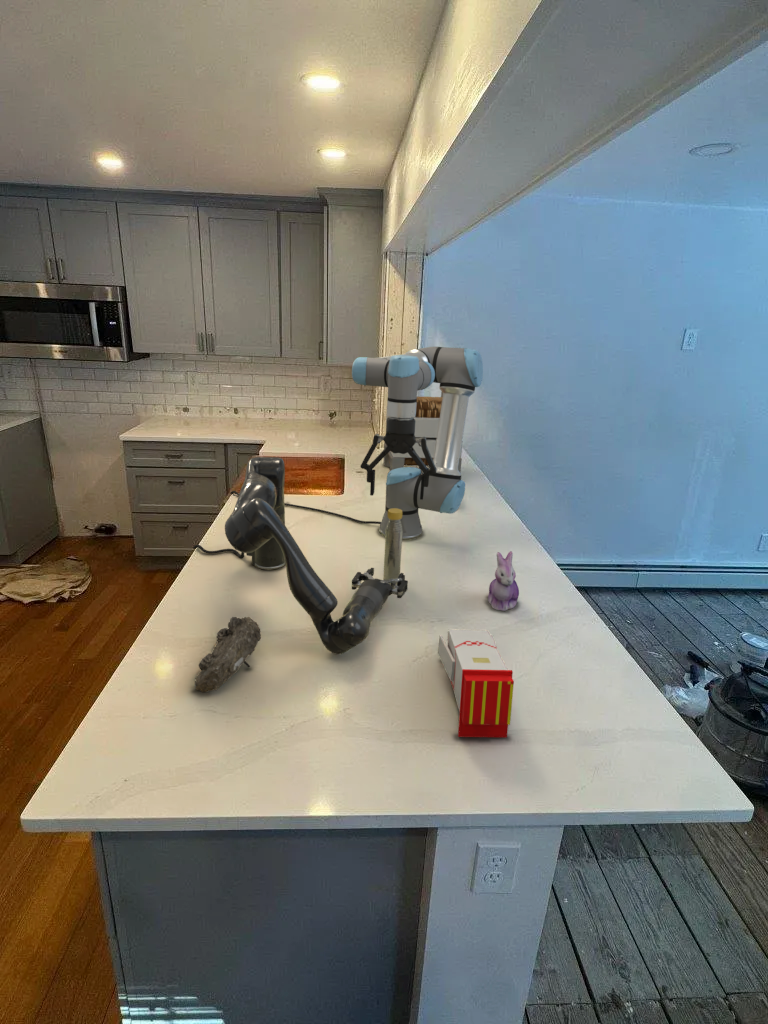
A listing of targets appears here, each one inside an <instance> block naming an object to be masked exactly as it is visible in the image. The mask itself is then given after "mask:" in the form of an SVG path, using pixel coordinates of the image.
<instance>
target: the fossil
mask: <svg viewBox="0 0 768 1024" xmlns="http://www.w3.org/2000/svg"><path fill="white" fill-rule="evenodd" d="M227 627H228V628H227ZM227 627H224V628H220V629H219V630H218V631H217V633H216V644H215V646H214V647H213V649H212V652H210V653H207V654H206V655H205V656H203V657H202V658H201V660H200V661H199V663H198V668H199V670H200V672H199V673H198V674H197V676H195V678H194V679H195V680H194V685H195V690H196V691H200V692H201V693H207V692H211V691H217V690H218V689H220V688H221V686H223V685H224V684H225V683H226V682H228V680H229V679H230V678H231V677H232V676H233V675H235V674H236V673H238V671H239V669H240V667H241V666H242V665H243V664H244V665H245V667H247V668H250V667H251V665H250V663H248V662H247V661H246V660H247V659H248V657H249V656H251V655H253V653H254V652H255V650H256V647H257V646H258V643H259V642H260V641H261V638H262V634H261V630H262V629H261V628H260V626H259V624H258V622H257V621H255V620H254V619H253V618H251V617H250V616H247V617H246V616H245V617H242V618H241V617H237V616H232V617H231V618H229V621H228V624H227Z"/></svg>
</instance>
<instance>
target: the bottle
mask: <svg viewBox="0 0 768 1024" xmlns="http://www.w3.org/2000/svg"><path fill="white" fill-rule="evenodd" d="M402 532H403V529H402V524H401V521H400V519H399V520H392V519H390V520H389V522H388V524H387V526H386V534H385V538H384V554H383V555H384V557H383V558H384V559H383V579H382V580H388V579H392V578H393V579H397V578H398V577H399V575H400V573H401V564H402V549H403V540H402ZM389 584H390V585H391V583H389ZM396 585H397V583H396ZM396 585H395V586H396Z"/></svg>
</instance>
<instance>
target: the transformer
mask: <svg viewBox="0 0 768 1024" xmlns="http://www.w3.org/2000/svg"><path fill="white" fill-rule="evenodd" d="M440 393H441V394H440V396H418V395H417V404H416V417H414V419H415V438H422V437H426V444H427V448H428V450H429V452H430V455H431V457H432V460H433V459H434V452H435V445H436V438H437V432H438V425H439V418H440V411H441V405H442V398H443V393H442V391H440ZM385 414H386V415H385V420H386V419H387V418H388V417H389V416H387V411H386V413H385ZM463 442H464V441H463V440H462V445H461V451H460V458H459V464H458V471H459V472H460V473H461V472H462V461H463V460H462V453H463ZM386 447H387V445H386V444H385V442H384V441H383V450H384V449H385V448H386ZM413 448H414V450H415V452H416V453H417V454H418V456H419V457H420V458H421V460H422V461H423V463H424V464H425V465H426V467H429V465H428V463H427V460H426V458H425V456H424V453H423V451H422V447H420V446H419V445H418V443H415V444H414V446H413ZM383 466H384V467H388V468H389V472H390V471H391V470H393V469H397V468H403V467H405V466H406V467H419V466H418V465H417V464H416V462H415V461H414V460H413V458H412V457H411V456H410V455H409V454H408V452H407V453H405V454H401V453H393V452H391V451H389V453H388V454H386V455H385V456H384V458H383ZM461 474H462V473H461Z"/></svg>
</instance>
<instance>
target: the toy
mask: <svg viewBox="0 0 768 1024" xmlns="http://www.w3.org/2000/svg"><path fill="white" fill-rule="evenodd" d="M446 640H447V643H446V641H445V639H444V636H443V635H442V634H439V637H438V646H437V656H438V657H439V659H440V661H441V663H442V666H443V668H444V670H445V672H446V674H447V677H448V679H449V681H450V684H451V687H452V690H453V693H454V697H455V701H456V705H457V708H458V711H459V714H458V715H459V716H458V730H457V731H458V732H457V737H458V738H508V731H509V726H510V725H511V717H512V707H513V697H514V696H513V695H514V684H515V680H514V679H513V673H514V671H513V670H512V669H508V667H507V665H506V662H505V661H504V659H503V658H502V655H501V653H500V651H499V649H498V647H497V643H496V639H495V637H494V635H493V634H491V632H490V631H489V629H467V628H466V629H465V628H463V629H461V628H460V629H459V628H448V630H447V639H446Z"/></svg>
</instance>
